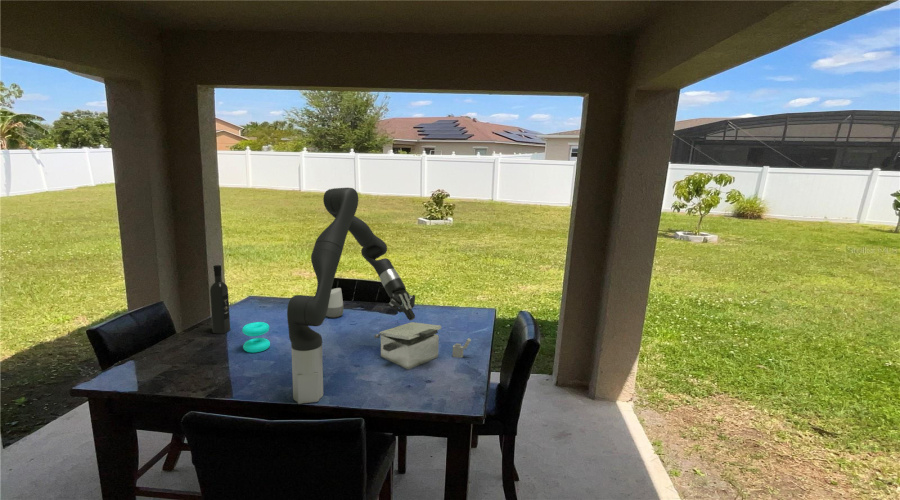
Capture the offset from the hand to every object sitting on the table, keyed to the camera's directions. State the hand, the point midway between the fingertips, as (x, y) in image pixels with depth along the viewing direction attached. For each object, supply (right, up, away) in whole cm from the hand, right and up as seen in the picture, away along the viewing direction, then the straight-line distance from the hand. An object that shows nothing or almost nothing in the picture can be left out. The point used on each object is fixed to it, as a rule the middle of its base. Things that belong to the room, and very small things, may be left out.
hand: (412, 319), depth 169 cm
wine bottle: (-87, -10, +25) cm, 91 cm away
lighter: (+19, -16, +5) cm, 25 cm away
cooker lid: (0, -5, 0) cm, 5 cm away
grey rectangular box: (-2, -16, +4) cm, 16 cm away
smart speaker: (-44, -7, +50) cm, 67 cm away
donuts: (-64, -13, +8) cm, 66 cm away
